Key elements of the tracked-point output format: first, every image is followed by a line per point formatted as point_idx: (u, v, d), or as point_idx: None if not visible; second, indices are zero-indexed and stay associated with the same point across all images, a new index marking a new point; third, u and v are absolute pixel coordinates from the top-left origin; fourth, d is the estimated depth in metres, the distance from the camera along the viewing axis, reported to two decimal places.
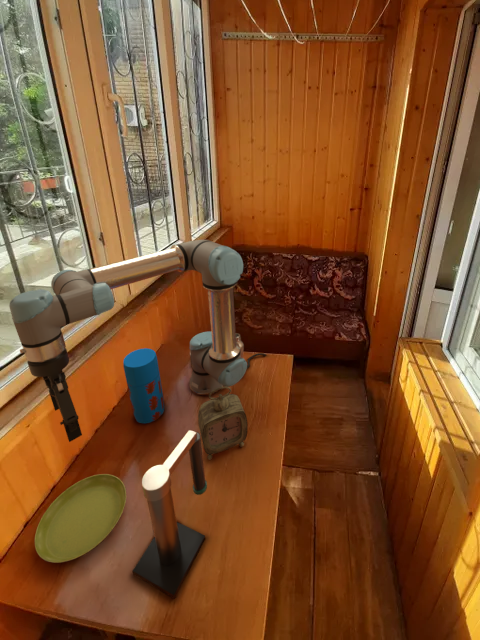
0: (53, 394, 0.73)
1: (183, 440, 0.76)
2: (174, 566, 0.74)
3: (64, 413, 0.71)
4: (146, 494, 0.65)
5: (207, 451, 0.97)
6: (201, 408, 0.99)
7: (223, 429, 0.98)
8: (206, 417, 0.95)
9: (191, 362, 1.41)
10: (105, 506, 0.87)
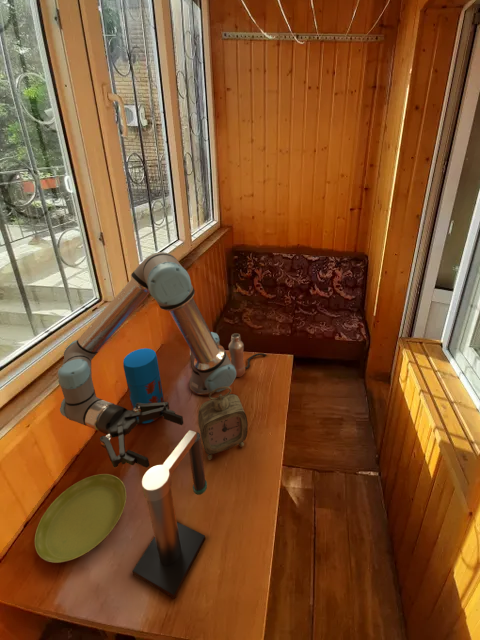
0: None
1: (183, 440, 0.76)
2: (174, 566, 0.74)
3: (110, 459, 0.80)
4: (146, 494, 0.65)
5: (207, 451, 0.97)
6: (201, 408, 0.99)
7: (223, 429, 0.98)
8: (206, 417, 0.95)
9: (191, 362, 1.41)
10: (105, 506, 0.87)
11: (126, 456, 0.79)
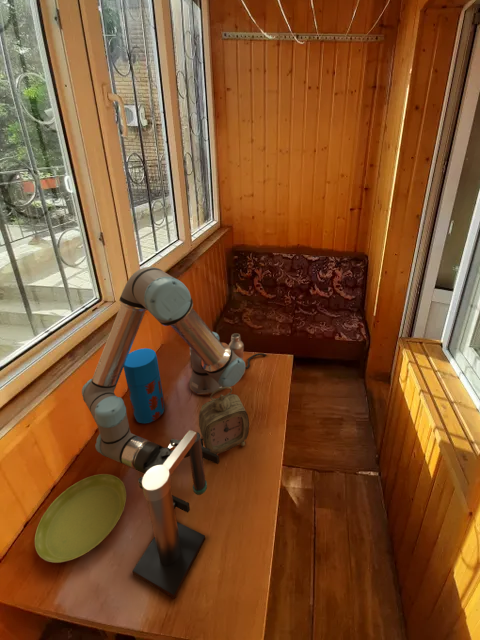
0: None
1: (183, 440, 0.76)
2: (174, 566, 0.74)
3: None
4: (146, 494, 0.65)
5: None
6: (202, 409, 0.98)
7: (225, 429, 0.98)
8: (207, 418, 0.95)
9: (191, 362, 1.41)
10: (105, 506, 0.87)
11: None
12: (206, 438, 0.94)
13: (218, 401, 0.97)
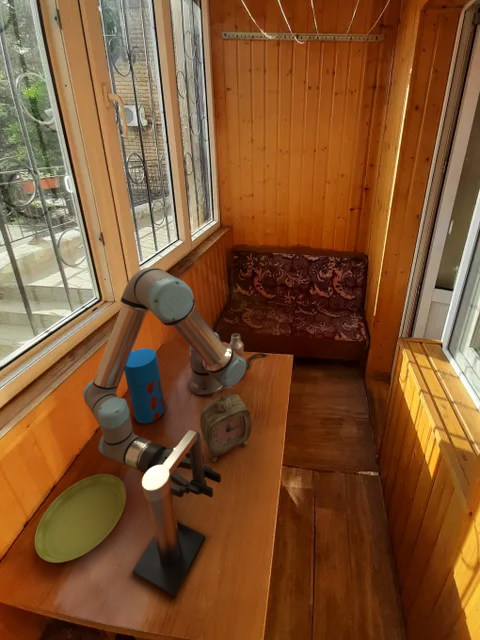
0: None
1: (183, 440, 0.76)
2: (174, 566, 0.74)
3: (172, 493, 0.82)
4: (146, 494, 0.65)
5: (212, 453, 0.96)
6: (203, 411, 0.98)
7: (227, 429, 0.98)
8: (210, 419, 0.95)
9: (191, 362, 1.41)
10: (105, 506, 0.87)
11: (190, 486, 0.82)
12: (209, 439, 0.94)
13: (220, 402, 0.97)
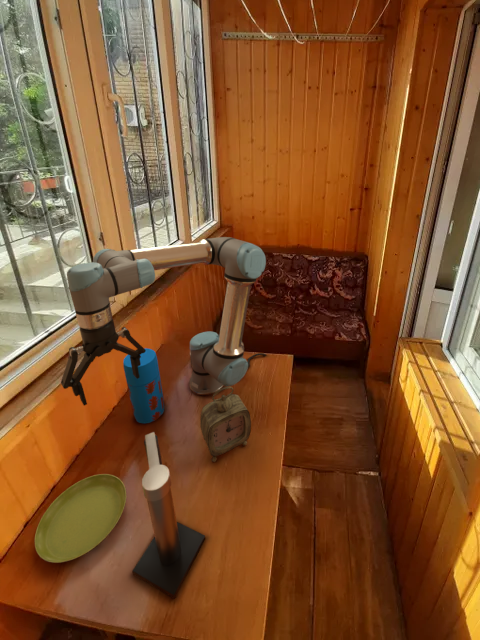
0: (120, 346, 0.84)
1: (148, 444, 0.75)
2: (174, 566, 0.74)
3: None
4: (157, 494, 0.65)
5: (212, 453, 0.96)
6: (203, 411, 0.98)
7: (227, 429, 0.98)
8: (210, 419, 0.95)
9: (191, 362, 1.41)
10: (105, 506, 0.87)
11: None
12: (209, 439, 0.94)
13: (220, 402, 0.97)
